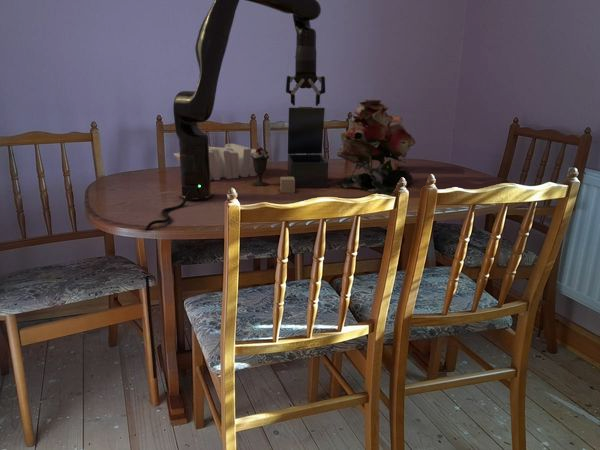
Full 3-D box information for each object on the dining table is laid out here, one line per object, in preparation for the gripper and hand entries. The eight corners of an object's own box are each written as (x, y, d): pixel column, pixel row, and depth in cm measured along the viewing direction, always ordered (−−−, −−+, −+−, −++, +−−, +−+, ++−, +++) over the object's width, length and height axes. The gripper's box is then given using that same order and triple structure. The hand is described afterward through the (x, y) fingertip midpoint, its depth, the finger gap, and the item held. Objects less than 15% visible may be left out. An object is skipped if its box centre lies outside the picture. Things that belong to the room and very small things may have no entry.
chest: (327, 187, 188) (328, 162, 185) (291, 188, 187) (291, 162, 184) (321, 177, 204) (321, 154, 201) (287, 177, 203) (287, 154, 200)
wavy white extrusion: (185, 183, 192) (184, 154, 188) (172, 174, 205) (171, 147, 202) (273, 174, 208) (273, 147, 205) (255, 167, 222) (255, 141, 219)
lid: (324, 108, 191) (322, 103, 196) (288, 108, 190) (287, 103, 195) (321, 153, 201) (320, 147, 205) (287, 153, 200) (286, 147, 204)
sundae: (252, 186, 188) (252, 144, 183) (249, 182, 194) (248, 141, 190) (271, 186, 190) (271, 143, 185) (267, 181, 196) (267, 140, 191)
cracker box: (396, 173, 213) (399, 119, 207) (380, 172, 215) (384, 119, 209) (399, 166, 226) (402, 116, 220) (384, 165, 228) (387, 115, 222)
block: (294, 192, 180) (294, 179, 179) (281, 193, 180) (281, 179, 178) (293, 189, 185) (293, 176, 183) (280, 189, 184) (280, 176, 183)
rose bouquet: (418, 180, 200) (424, 98, 191) (389, 196, 176) (394, 103, 167) (355, 173, 213) (358, 95, 204) (320, 187, 189) (322, 99, 180)
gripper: (286, 59, 188) (286, 106, 192) (327, 59, 189) (325, 106, 194) (285, 59, 195) (285, 104, 200) (324, 59, 196) (323, 104, 201)
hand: (305, 105), depth 197 cm, fingers open, 8 cm apart
